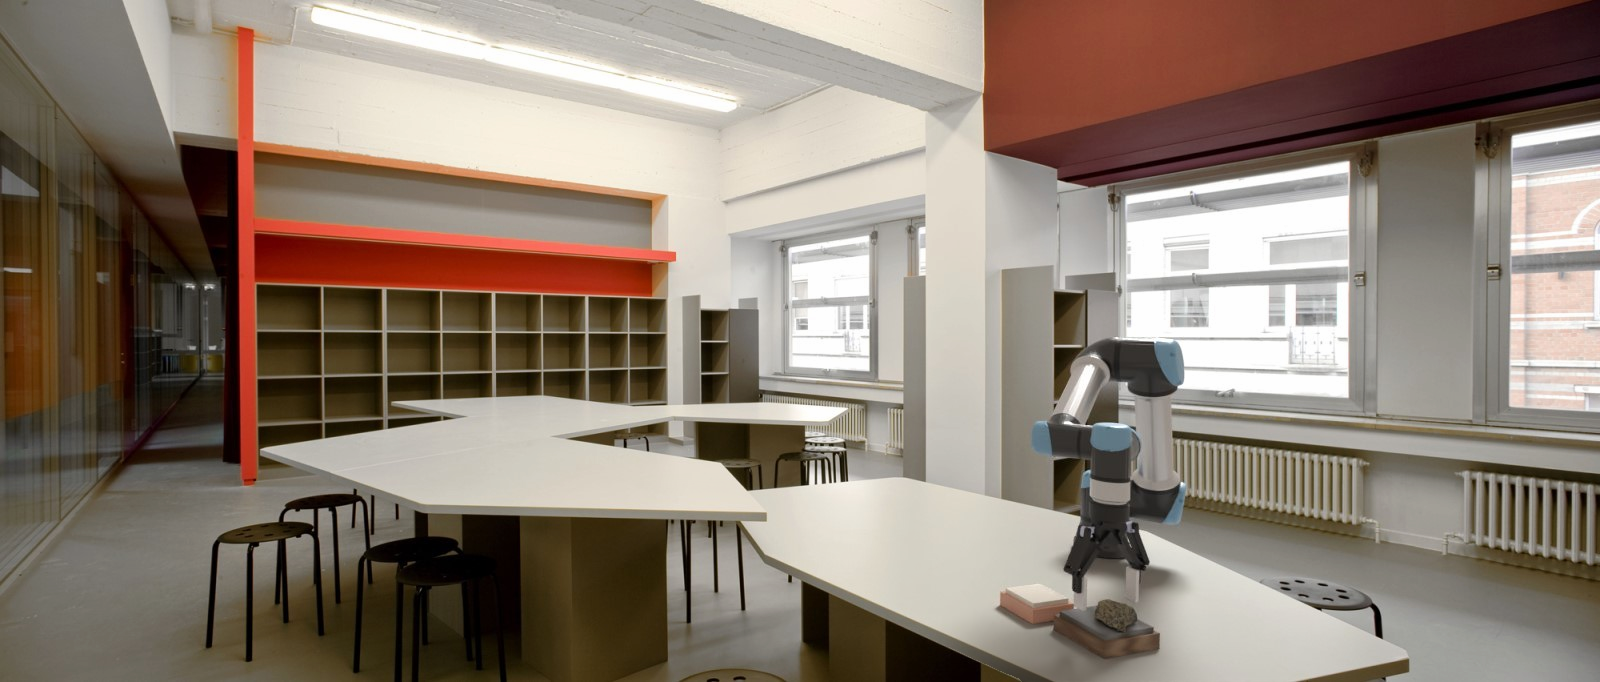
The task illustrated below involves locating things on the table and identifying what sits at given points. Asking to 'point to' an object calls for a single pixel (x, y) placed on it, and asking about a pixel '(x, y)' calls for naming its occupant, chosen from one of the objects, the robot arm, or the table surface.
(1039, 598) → the terracotta plinth
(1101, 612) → the rock
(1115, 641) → the walnut plinth
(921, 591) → the table surface
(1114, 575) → the table surface
